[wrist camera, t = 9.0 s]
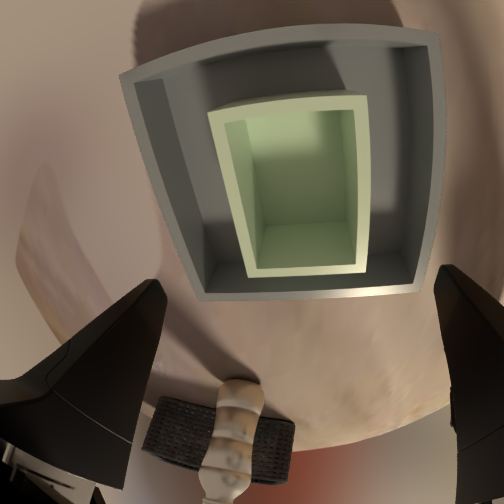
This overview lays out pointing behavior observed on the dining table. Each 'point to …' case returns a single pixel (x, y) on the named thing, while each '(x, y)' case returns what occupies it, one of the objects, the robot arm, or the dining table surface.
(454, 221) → the dining table surface
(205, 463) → the plastic bottle
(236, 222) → the small crate
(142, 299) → the robot arm
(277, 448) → the storage bin
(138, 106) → the large crate
